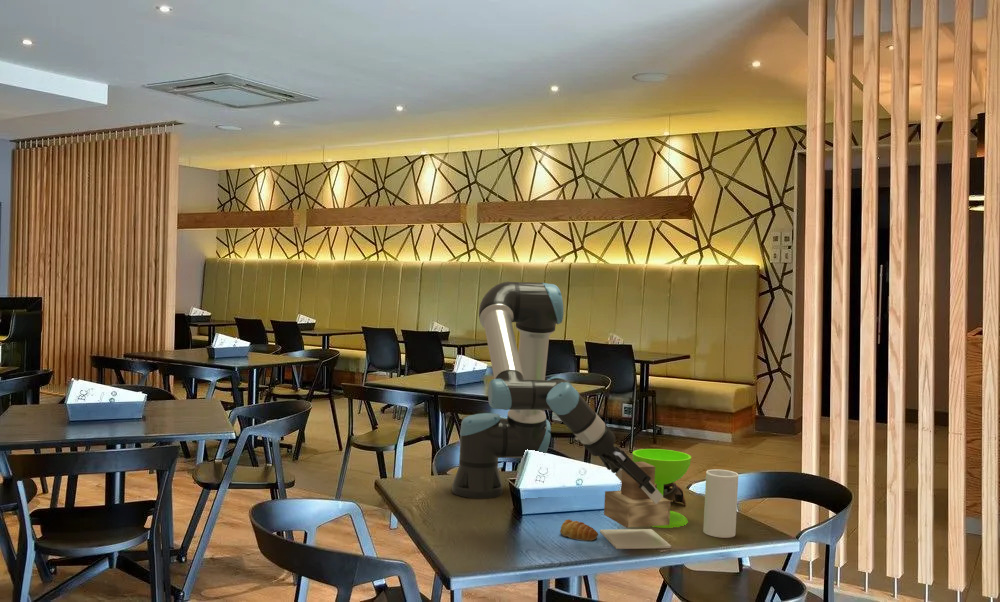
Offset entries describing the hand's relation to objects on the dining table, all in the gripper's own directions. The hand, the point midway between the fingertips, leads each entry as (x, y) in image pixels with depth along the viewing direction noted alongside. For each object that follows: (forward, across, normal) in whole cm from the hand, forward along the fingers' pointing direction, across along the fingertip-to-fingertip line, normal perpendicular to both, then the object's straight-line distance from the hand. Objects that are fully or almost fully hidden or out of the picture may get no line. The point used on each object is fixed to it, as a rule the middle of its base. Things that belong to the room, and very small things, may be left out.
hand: (646, 493), depth 223 cm
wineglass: (+18, -16, +1) cm, 24 cm away
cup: (+25, -1, +8) cm, 26 cm away
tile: (+7, 0, -10) cm, 12 cm away
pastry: (-2, -7, -19) cm, 21 cm away
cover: (+3, 0, -6) cm, 7 cm away
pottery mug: (+26, -30, +9) cm, 41 cm away
